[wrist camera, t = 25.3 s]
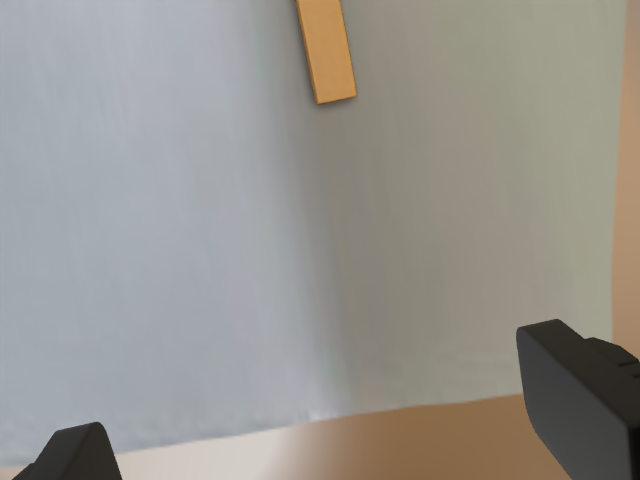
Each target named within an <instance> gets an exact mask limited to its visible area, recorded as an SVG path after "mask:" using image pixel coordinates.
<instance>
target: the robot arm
mask: <svg viewBox="0 0 640 480" xmlns="http://www.w3.org/2000/svg"><path fill="white" fill-rule="evenodd" d="M516 341H517V349H518V356H519V364H520V371H521V378H522V385H523V392H524V400H525V405H526V409H527V413H528V416H529V419H530V421H531V423H532V426H533V428H534V430H535V432H536V433H537V435H538V436H539V438H540V439H541V440H542V442H543V443H544V444H545V445H546V447H547V448H548V449H549V451H550V452H551V453H552V454H553V456H554V457H555V458H556V460H557V461H558V462H559V463H560V465H561V466H562V467H563V469H564V470H565V471H566V473H567V474H568V475H569V476H570V478H571V479H572V480H640V362H639V360H638V359H637V358H635V357H634V356H633V355H632V354H630V353H629V352H627V351H626V350H625V349H623V348H622V347H621V346H618V345H615V344H612V343H609V342H606V341H603V340H600V339H597V338H594V337H592V338H588V339H584V338H583V337H581V336H580V335H579V334H578V333H576V332H575V331H574V330H572V329H571V328H570V327H569V326H567V325H566V324H565V323H563V322H562V321H561V320H559V319H554V320H549V321H545V322H540V323H536V324H531V325H527V326H523V327H519V328H518V329H517V332H516ZM12 480H122V477H121V474H120V471H119V468H118V465H117V462H116V459H115V456H114V453H113V450H112V447H111V444H110V441H109V438H108V435H107V432H106V430H105V428H104V427H103V425H102V424H101V423H99V422H93V423H89V424H84V425H80V426H76V427H71V428H67V429H62V430H58V431H56V432H55V433H54V434H53V436H52V437H51V439H50V440H49V442H48V443H47V445H46V446H45V448H44V449H43V451H42V452H41V454H40V455H39V456H38V458H37V459H36V461H35V462H34V463H31V464H29V465H28V466H27V467H26V468H25V469H24V470H23V471H21V472H20V473H19V474H18V475H17V476H16V477H14V478H13V479H12Z"/></svg>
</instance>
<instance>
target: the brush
mask: <svg viewBox="0 0 640 480" xmlns="http://www.w3.org/2000/svg"><path fill="white" fill-rule="evenodd" d="M295 2H296V7H297V12H298V17H299V22H300V27H301V32H302V37H303V42H304V47H305V52H306V57H307V62H308V67H309V72H310V77H311V82H312V87H313V92H314V97H315V102H316V104H322V103H326V102H331V101H336V100H341V99H346V98H350V97H355V96H357V90H356V85H355V79H354V74H353V68H352V63H351V57H350V52H349V46H348V41H347V35H346V30H345V24H344V19H343V13H342V8H341V3H340V0H295Z"/></svg>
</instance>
